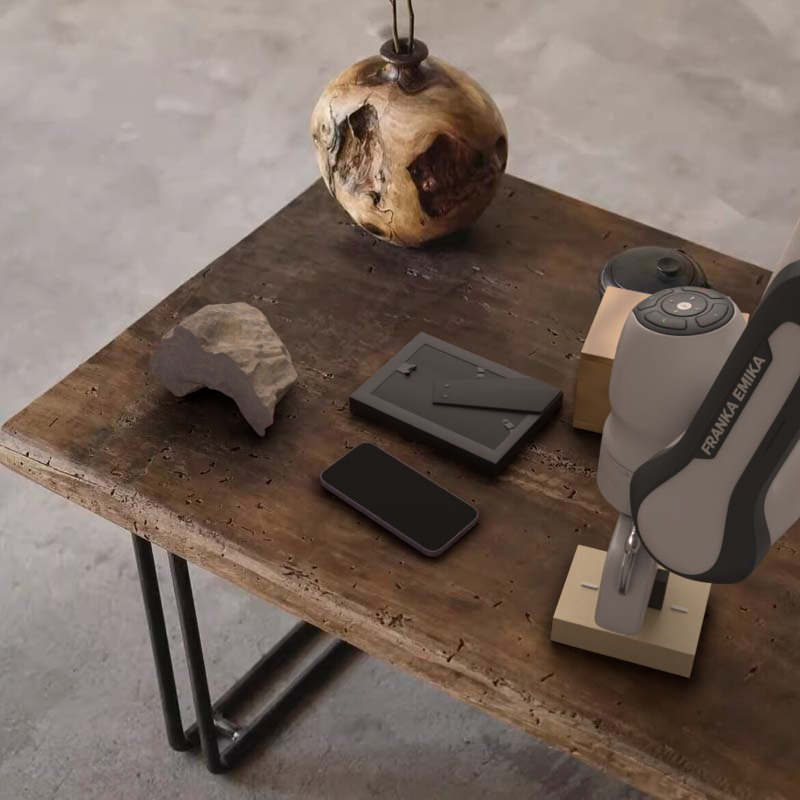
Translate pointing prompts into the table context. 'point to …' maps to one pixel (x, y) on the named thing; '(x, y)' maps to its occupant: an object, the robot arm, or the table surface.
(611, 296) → the chest lid
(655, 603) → the black red-tipped block
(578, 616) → the plate
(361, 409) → the picture frame
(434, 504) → the smartphone
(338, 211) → the table surface
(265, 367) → the rock
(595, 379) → the chest
